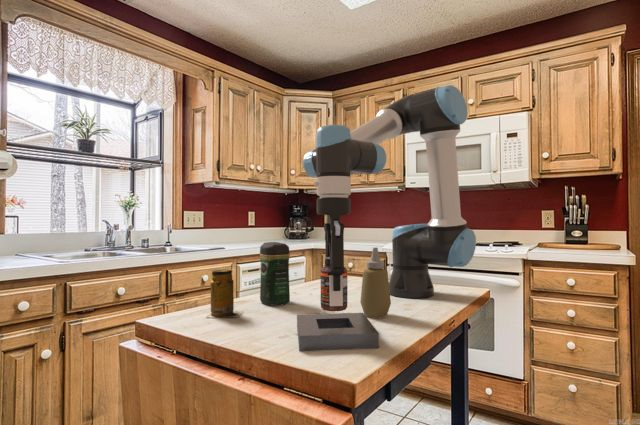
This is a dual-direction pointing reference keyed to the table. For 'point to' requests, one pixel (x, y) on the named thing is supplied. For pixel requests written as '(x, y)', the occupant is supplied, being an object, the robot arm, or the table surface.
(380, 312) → the squeeze bottle
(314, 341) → the socket block
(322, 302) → the supplement bottle
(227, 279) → the condiment
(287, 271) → the coffee jar
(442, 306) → the table surface
